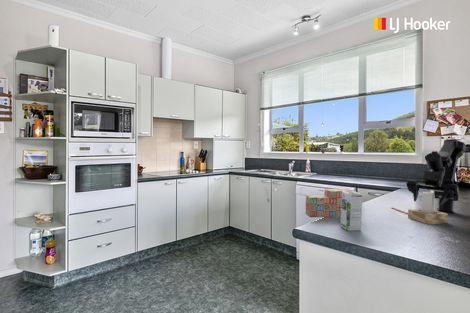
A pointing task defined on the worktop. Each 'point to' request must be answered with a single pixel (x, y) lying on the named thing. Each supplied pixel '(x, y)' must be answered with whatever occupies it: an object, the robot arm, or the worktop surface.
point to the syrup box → (351, 210)
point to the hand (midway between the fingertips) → (426, 202)
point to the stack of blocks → (325, 203)
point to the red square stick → (400, 210)
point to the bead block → (427, 216)
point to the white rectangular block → (428, 202)
